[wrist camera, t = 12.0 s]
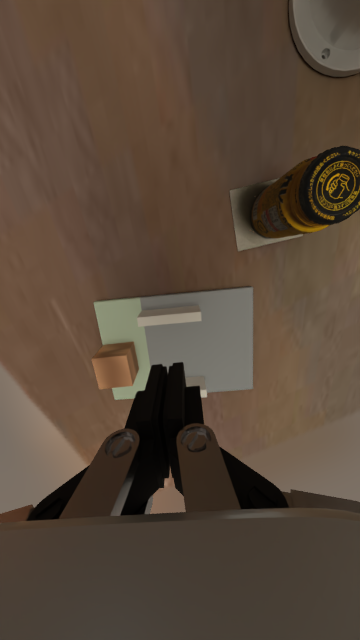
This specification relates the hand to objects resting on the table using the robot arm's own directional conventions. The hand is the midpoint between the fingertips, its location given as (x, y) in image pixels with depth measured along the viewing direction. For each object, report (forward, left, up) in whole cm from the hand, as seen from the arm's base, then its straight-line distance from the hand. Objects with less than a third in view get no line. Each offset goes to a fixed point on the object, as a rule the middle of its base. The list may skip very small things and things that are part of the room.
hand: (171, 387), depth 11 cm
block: (+9, +7, -19) cm, 23 cm away
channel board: (+1, +6, -20) cm, 21 cm away
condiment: (-12, -11, -21) cm, 26 cm away
